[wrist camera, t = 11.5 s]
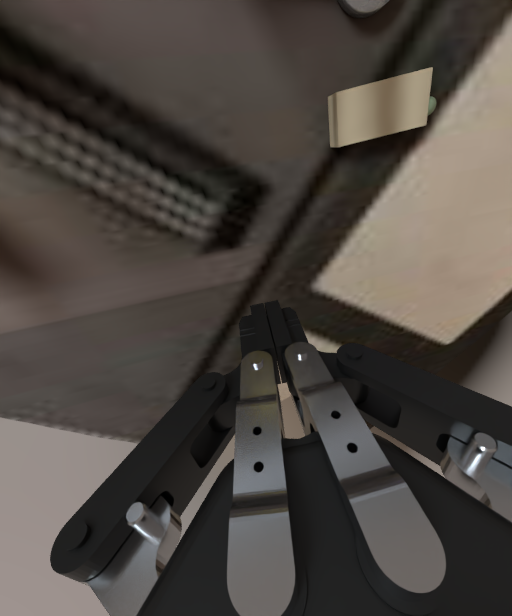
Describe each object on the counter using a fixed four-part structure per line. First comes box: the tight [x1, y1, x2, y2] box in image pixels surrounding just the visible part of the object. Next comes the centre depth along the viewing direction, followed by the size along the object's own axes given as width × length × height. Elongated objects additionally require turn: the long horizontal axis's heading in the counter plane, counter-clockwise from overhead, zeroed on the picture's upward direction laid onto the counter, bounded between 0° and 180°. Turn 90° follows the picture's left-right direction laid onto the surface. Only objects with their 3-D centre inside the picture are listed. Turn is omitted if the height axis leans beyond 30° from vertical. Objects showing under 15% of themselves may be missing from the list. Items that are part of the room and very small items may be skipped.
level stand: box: [328, 67, 436, 147], centre depth 29 cm, size 11×5×3 cm, turn 102°
